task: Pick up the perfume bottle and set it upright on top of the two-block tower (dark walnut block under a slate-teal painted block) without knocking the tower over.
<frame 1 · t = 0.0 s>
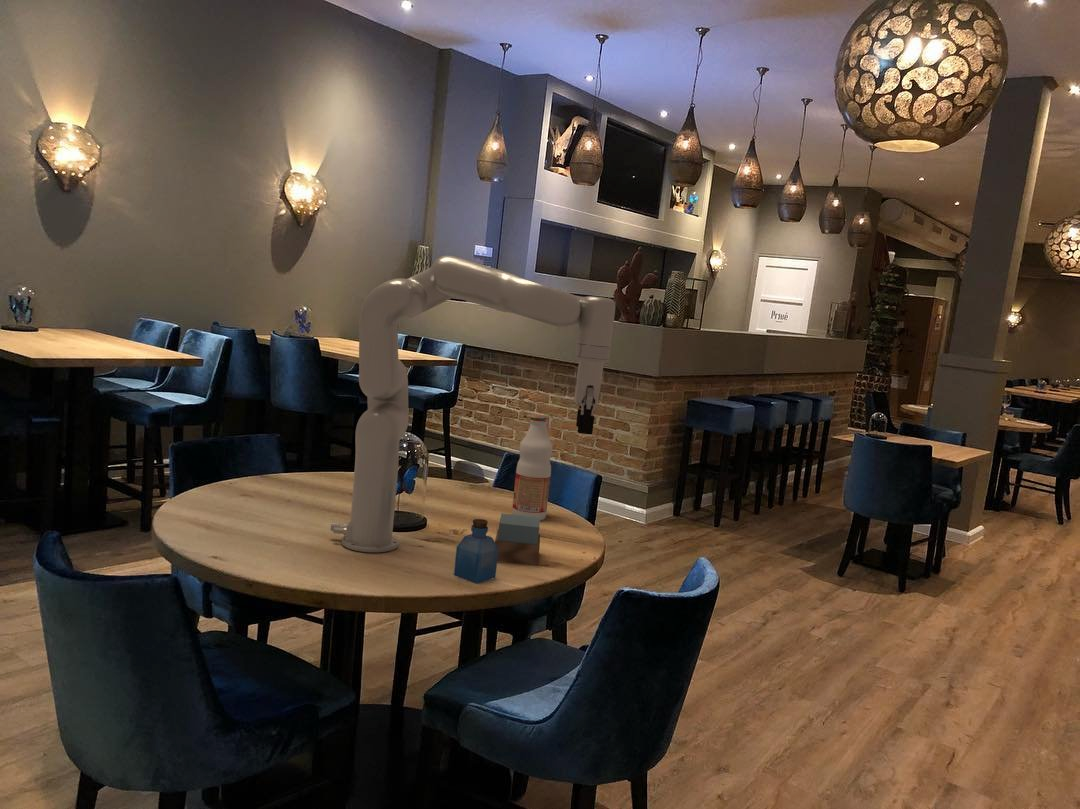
hand: (583, 430, 189), 31 cm above the table, fingers open, 9 cm apart
tower top: (518, 537, 195), point 5 cm above the table
tower base: (515, 558, 196), on the table
fruit juice: (528, 517, 233), on the table
perfume bottle: (474, 577, 179), on the table
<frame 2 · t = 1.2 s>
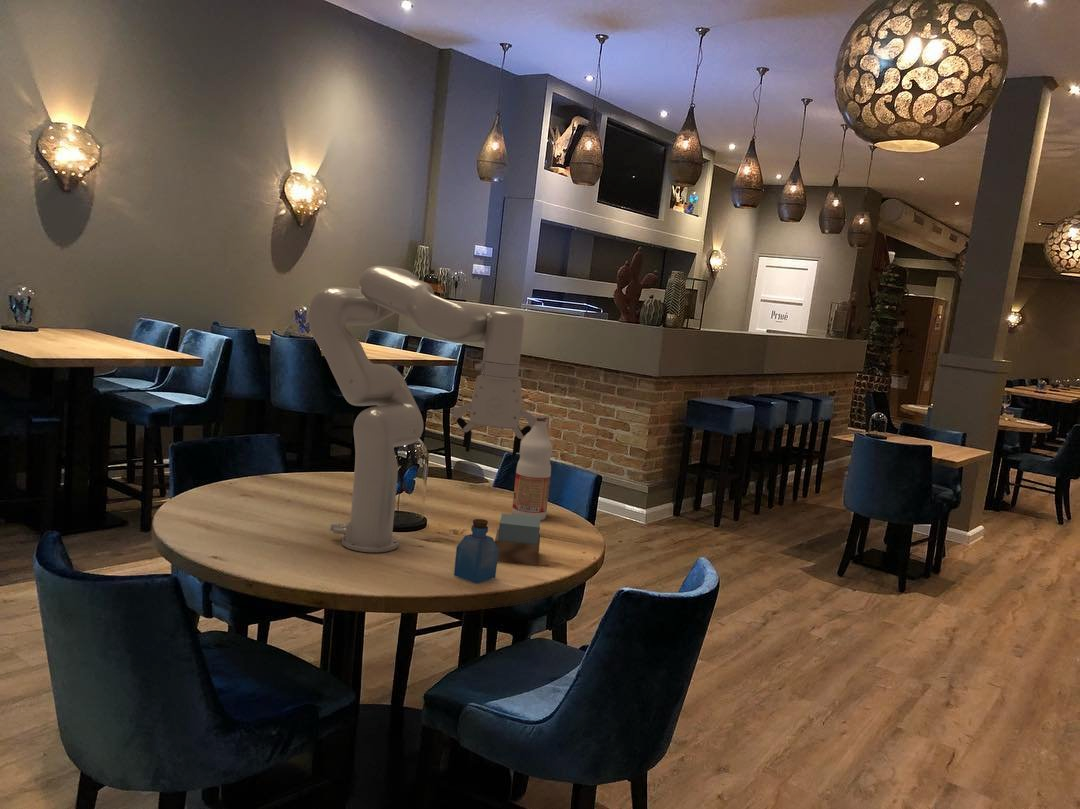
hand: (490, 453, 176), 26 cm above the table, fingers open, 9 cm apart
tower top: (518, 537, 195), point 5 cm above the table, touching tower base
tower base: (515, 558, 196), on the table, touching tower top
everything else where it was.
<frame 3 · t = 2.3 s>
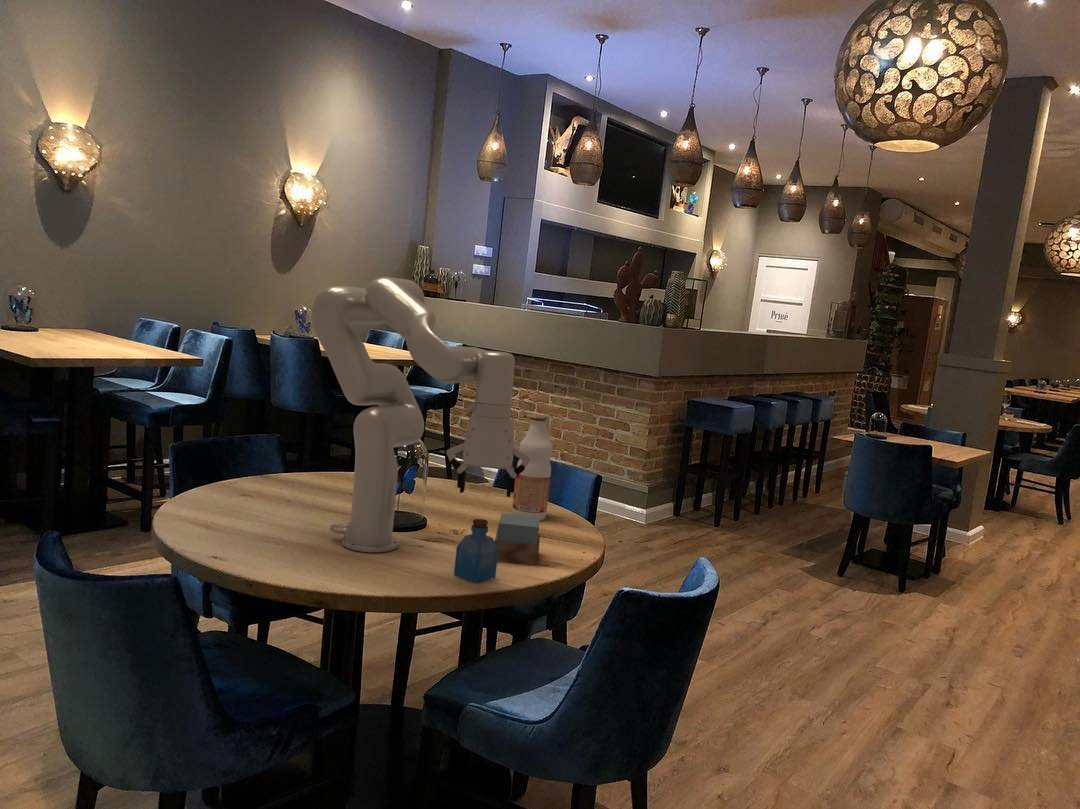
hand: (485, 493, 176), 18 cm above the table, fingers open, 9 cm apart
nothing on the table moved.
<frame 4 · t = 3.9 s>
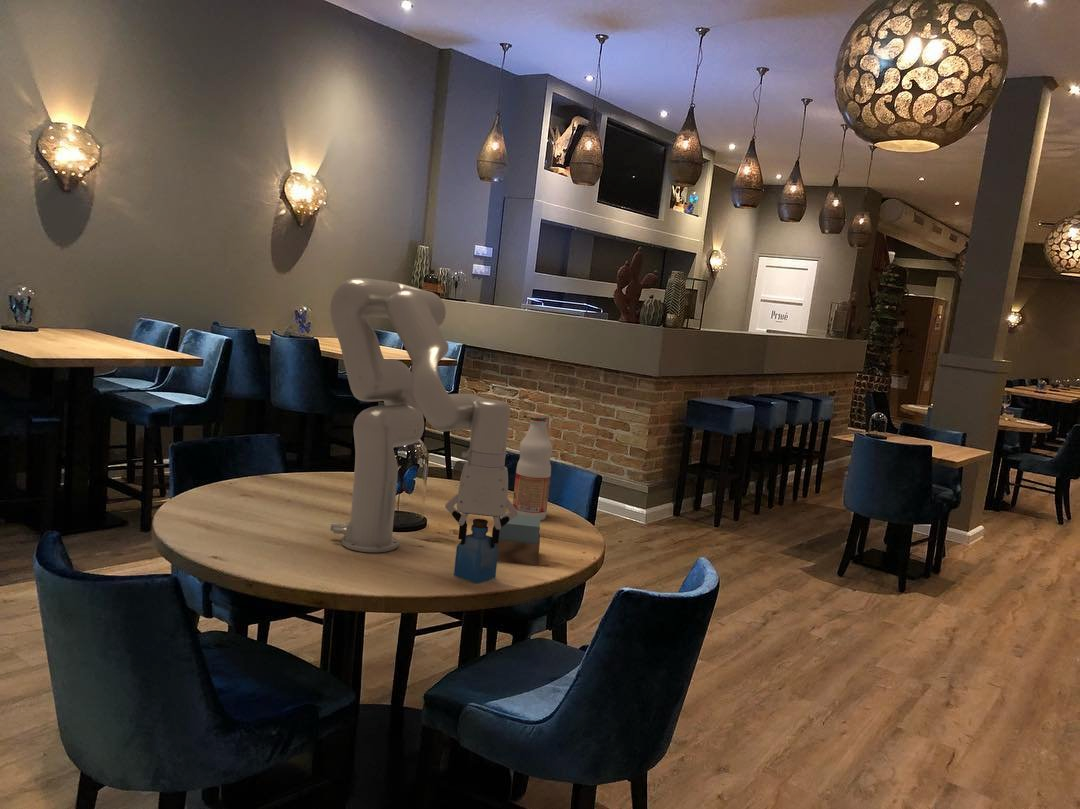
hand: (478, 543, 178), 7 cm above the table, fingers closed on perfume bottle, 5 cm apart
perfume bottle: (474, 577, 179), on the table, touching gripper
everything else where it was.
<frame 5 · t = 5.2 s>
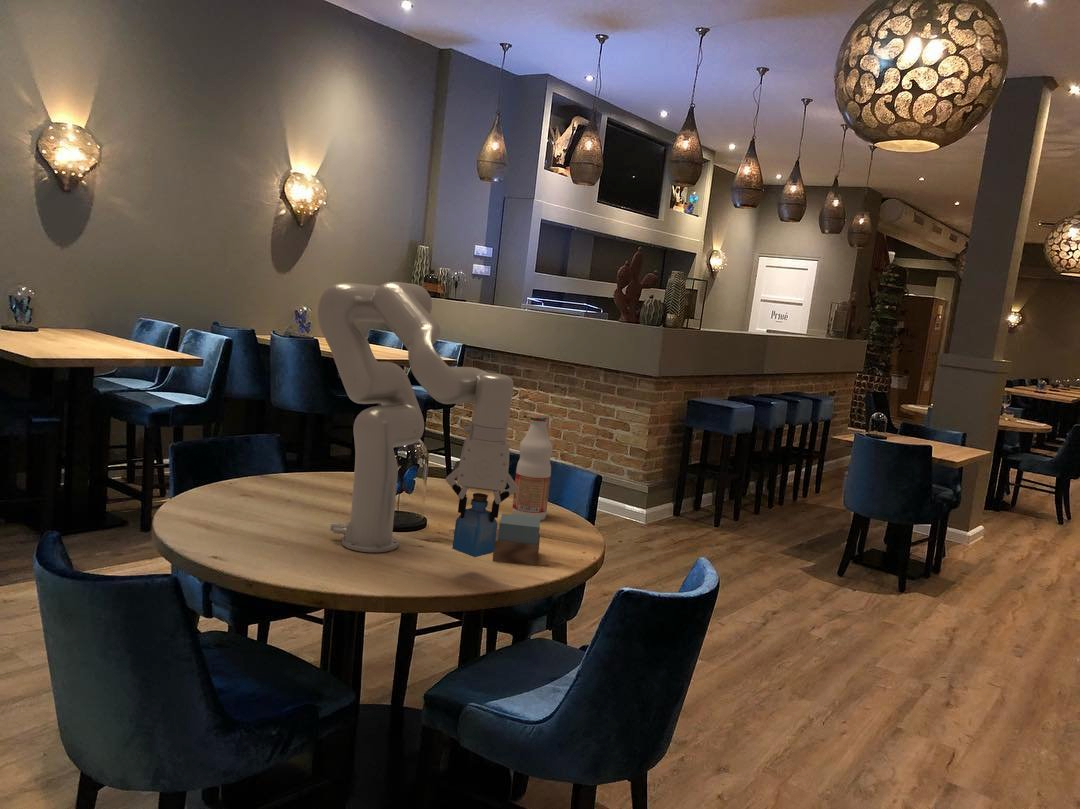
hand: (477, 517, 178), 12 cm above the table, fingers closed on perfume bottle, 5 cm apart
perfume bottle: (473, 551, 179), point 5 cm above the table, touching gripper
everything else where it was.
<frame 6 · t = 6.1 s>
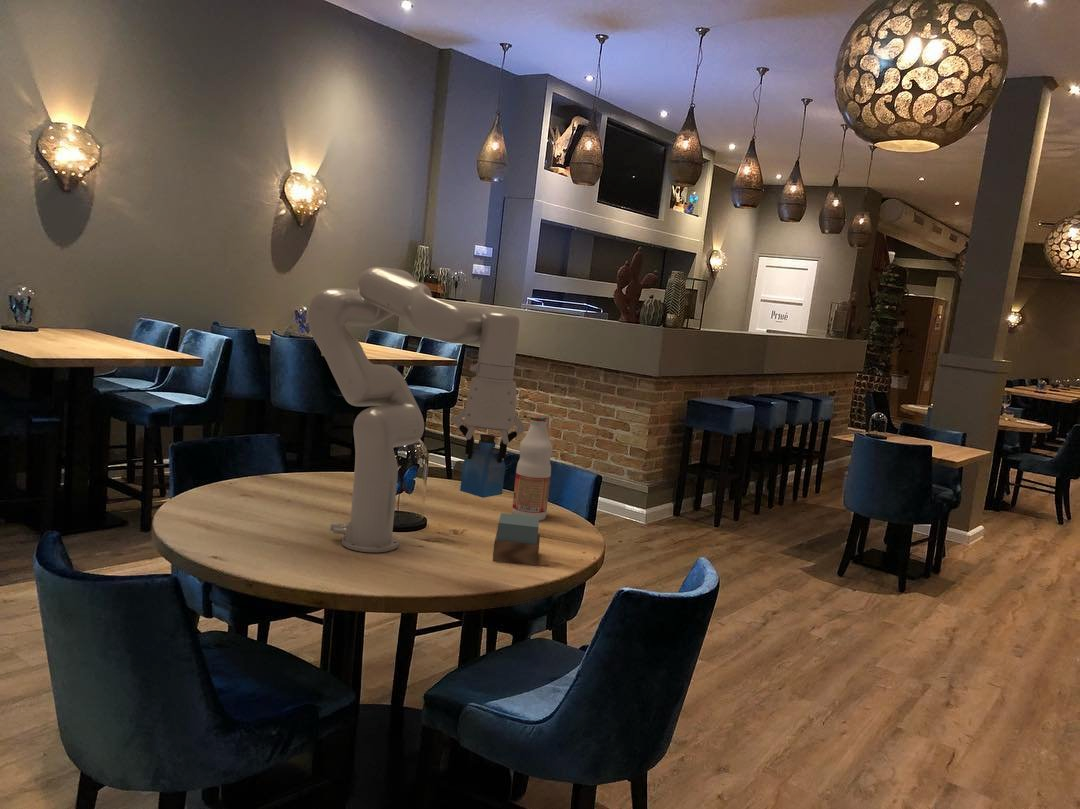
hand: (485, 459, 176), 25 cm above the table, fingers closed on perfume bottle, 5 cm apart
perfume bottle: (481, 493, 177), point 18 cm above the table, touching gripper
everything else where it was.
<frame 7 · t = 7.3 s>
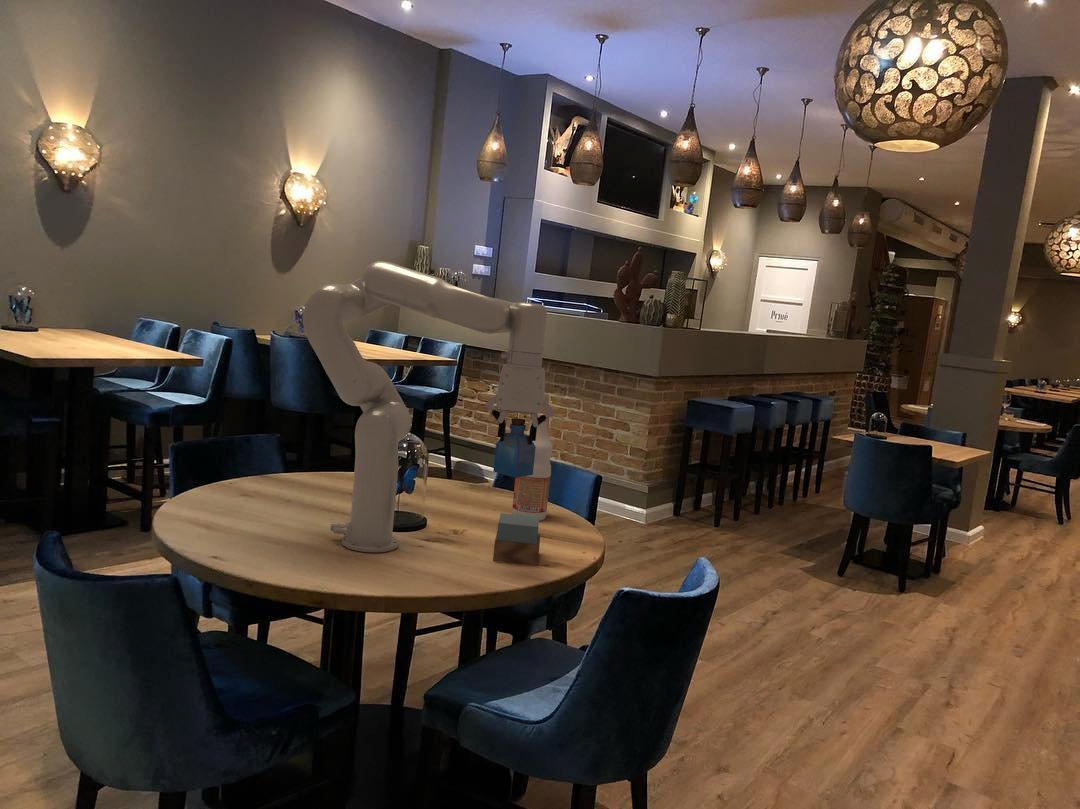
hand: (516, 441, 187), 28 cm above the table, fingers closed on perfume bottle, 5 cm apart
perfume bottle: (512, 474, 187), point 20 cm above the table, touching gripper
everything else where it was.
when the fingers open (17 cm above the table, at t = 10.5 s): perfume bottle drops 2 cm, resting on tower top.
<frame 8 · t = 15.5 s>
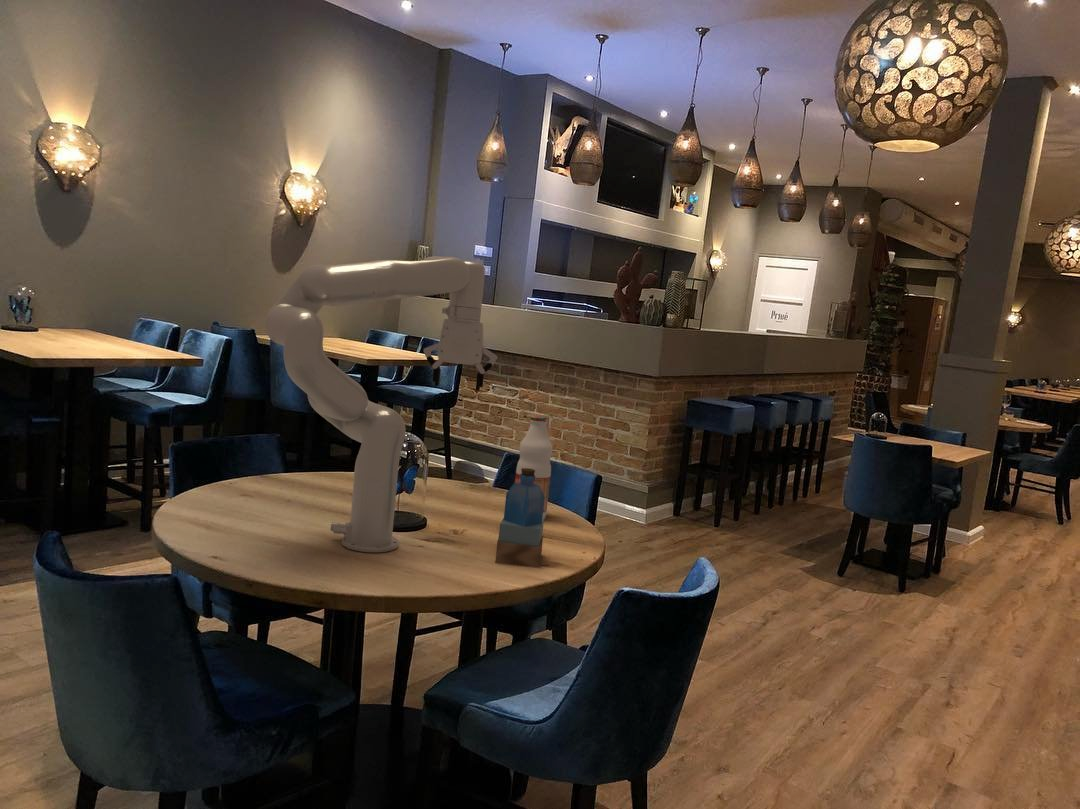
hand: (457, 387, 200), 36 cm above the table, fingers open, 9 cm apart
tower top: (520, 538, 194), point 5 cm above the table, touching perfume bottle
tower base: (518, 560, 194), on the table
perfume bottle: (522, 522, 194), point 8 cm above the table, touching tower top
everything else where it was.
at the end: perfume bottle 0.1 cm off-centre on the tower top, point 3.8 cm above the tower top's base; perfume bottle tilted 0°; tower top 0.2 cm off-centre on the tower base, point 5.0 cm above the tower base's base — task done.
